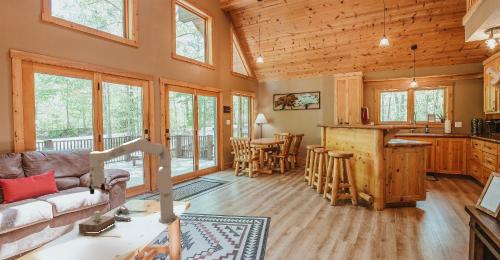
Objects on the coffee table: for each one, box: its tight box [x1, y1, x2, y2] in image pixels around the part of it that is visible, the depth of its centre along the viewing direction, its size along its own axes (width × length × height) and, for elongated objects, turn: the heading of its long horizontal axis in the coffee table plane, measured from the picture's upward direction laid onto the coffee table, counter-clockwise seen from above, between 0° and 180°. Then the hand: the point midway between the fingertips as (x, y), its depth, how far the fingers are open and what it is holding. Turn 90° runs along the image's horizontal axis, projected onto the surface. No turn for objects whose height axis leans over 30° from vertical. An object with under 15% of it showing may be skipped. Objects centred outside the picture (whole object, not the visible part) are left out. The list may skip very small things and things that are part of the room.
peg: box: [93, 210, 101, 222], centre depth 188 cm, size 4×4×12 cm
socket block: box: [78, 215, 116, 234], centre depth 188 cm, size 16×16×6 cm
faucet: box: [112, 204, 149, 221], centre depth 213 cm, size 5×28×28 cm
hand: (97, 192), depth 188 cm, fingers open, 9 cm apart
